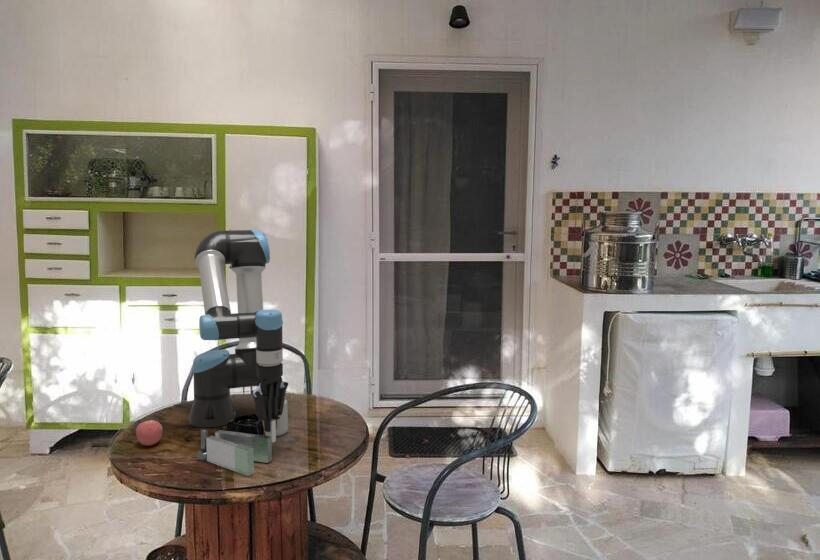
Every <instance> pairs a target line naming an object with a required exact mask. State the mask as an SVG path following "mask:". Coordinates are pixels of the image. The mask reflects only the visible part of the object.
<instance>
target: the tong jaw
mask: <svg viewBox="0 0 820 560" xmlns="http://www.w3.org/2000/svg"><path fill="white" fill-rule="evenodd" d="M214 436H215V437H218V438H221V439H224V440H227V441H230V442H233V443H236V444H239V445H240V444H242V445H245V446H248V447H251V448H253V456H254V462H258V463H265V464H266V463H267V464H269V463H270V462H271V461H272V460H273V457H272V453H273V452H272V451H273V450H272V447H273V446H272V444H273V443H272V442H271V436H266V435H265V434H263V435H262V434H253V433H247V432H239V431H232V430H231V431H230V430H224V429H222V430H221V429H218V430H216V431H215V432H214Z"/></svg>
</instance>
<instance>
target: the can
mask: <svg viewBox="0 0 820 560" xmlns="http://www.w3.org/2000/svg"><path fill="white" fill-rule="evenodd" d="M278 411H279V410H278ZM288 413H289V412H288V400H287V399H286V398H285V399H284V406H283V412H282V415H279V416H278V417H280V418H279V420H277V429H276V437H281V436H283V435H285V434H286V433H287V432H288V430H289V429H288V428H289V424H288V421H289V420H288V417H289V416H288ZM263 432H264V433H265V434H266V431H264V430H263Z"/></svg>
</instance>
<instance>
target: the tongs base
mask: <svg viewBox="0 0 820 560" xmlns="http://www.w3.org/2000/svg"><path fill="white" fill-rule="evenodd" d="M196 454H197V461H200V462H208V463H211V464H213V465H215V466H216V465H217V466H218V467H221V468H224V469H227V470H230V471H233V472H235V473H236V474H240V475H242V476H246V477H249V476H251V475H253V474H255V472H254V471H255V470H254V469H255V467H254V466H255V465H254V462H255V461H254V456H253V448H251V447H248V446H245V445H242V444H240V445H239V444H236V443H233V442H230V441H227V440H224V439H221V438H218V437H215V435H210V436H209V435H208V428H202V429H200V449H199V450H198V451H197V452H196Z"/></svg>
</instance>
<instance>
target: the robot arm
mask: <svg viewBox="0 0 820 560" xmlns="http://www.w3.org/2000/svg"><path fill="white" fill-rule="evenodd" d="M270 262H271V252H270V245H269V241H268V238H267V235H266V234H265V232H264V231H261V230H256V229H253V230H252V229H249V230H248V229H244V230H243V229H242V230H240V229H239V230H225V229H224V230H223V229H222V230H215V231H212V232H211V233H209V234H207V235H206V236H205V237H204V238H203V239H201V241H199V243H198V245H197V247H196V249H195V253H194V264H195V267H196V268H197V270H198V271H199V277H200V287H201V294H202V301H203V308H204V309H203V310H204V314H202V315H200V316H199V319H198V321H199V323H198V325H199V327H198V328H199V336H200V338H201V340H203V341H221V340H234V339H238V344H237V345H236V347H235V348H234V353H230V351H229V350H227V349H213V350H208V351H203V352H202V353H199V354H198V355H196V356H195V357H194V359H193V365H192V373H193V402H192V404H191V409H190V412H189V415H188V423H189V424H190V425H191V426H193V427H197V428H218V427H222V426H226V425H228V424H227V423H228V422H229V421H230V420H232V419H234V418H235V417H236V418H237V415H236V414H237V413H236V412H237V411H236V409H235V406H234V403H233V401H232V397H231V389H240V388H251V387H256V388H255V389H253V390H251V391H250V394H251V396H252V397H253V401H254V405H255V410H256V415H257V420H260V421H263V432H264V431H266V433H265V436H271V442H272V444H273V443H275V442H276V441H277V436H276V429H277V420H279V418H280V417H278V416H279V415H282V412H283V406H284V399H286V391H287V389H288V386H289V381H288V382H287V381H284V380H283V376H284V364H283V363H282V362H283V360H284V359H283V357H284V356H283V353H284V352H283V350H284V349H283V348H284V347H283V325H284V321H283V313H282V311H280V310H278V309H264V301H263V298H264V297H263V280H262V273H263V272H264V271H265V269H266V264H269V263H270ZM225 265H230V269H231V271H232V272H233V273H234V274H235V277H236V278H235V281H236V298H237V301H236V304H237V313H235V312H234V313H232V312H231V310H232V309H231V304H230V298H229V294H228V288H227V281H226V277H225V276H226V275H225V270H224V266H225ZM278 410H279V411H278Z"/></svg>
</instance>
